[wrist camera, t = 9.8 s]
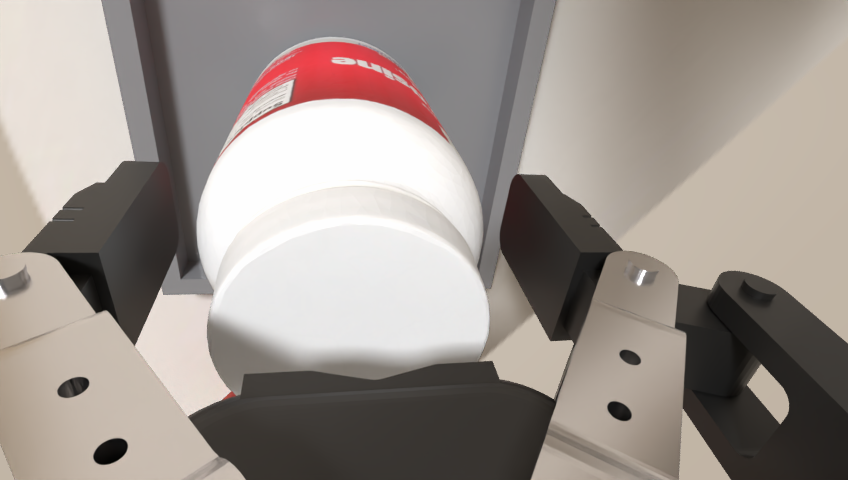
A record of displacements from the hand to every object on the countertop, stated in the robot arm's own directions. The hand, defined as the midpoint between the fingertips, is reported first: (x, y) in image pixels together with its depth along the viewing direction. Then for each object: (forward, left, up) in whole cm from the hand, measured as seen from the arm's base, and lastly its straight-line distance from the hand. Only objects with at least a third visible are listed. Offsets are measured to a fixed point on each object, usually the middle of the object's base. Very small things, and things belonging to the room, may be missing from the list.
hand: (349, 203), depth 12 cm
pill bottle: (0, 0, -7) cm, 7 cm away
